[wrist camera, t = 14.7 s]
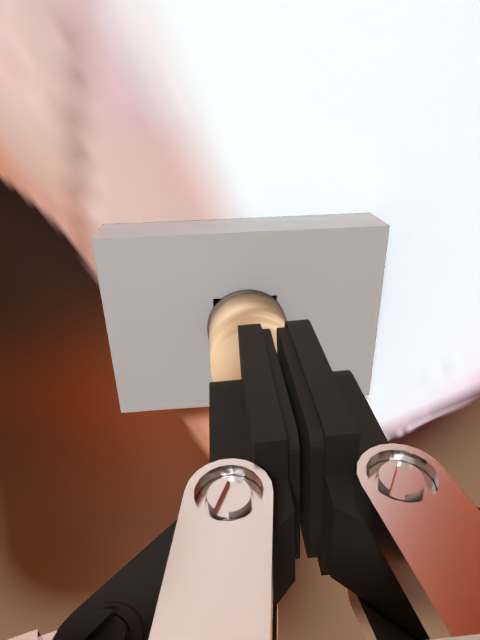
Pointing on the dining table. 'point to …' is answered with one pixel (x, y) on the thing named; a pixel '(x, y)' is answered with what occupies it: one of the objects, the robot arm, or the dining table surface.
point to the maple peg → (225, 323)
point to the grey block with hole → (224, 278)
